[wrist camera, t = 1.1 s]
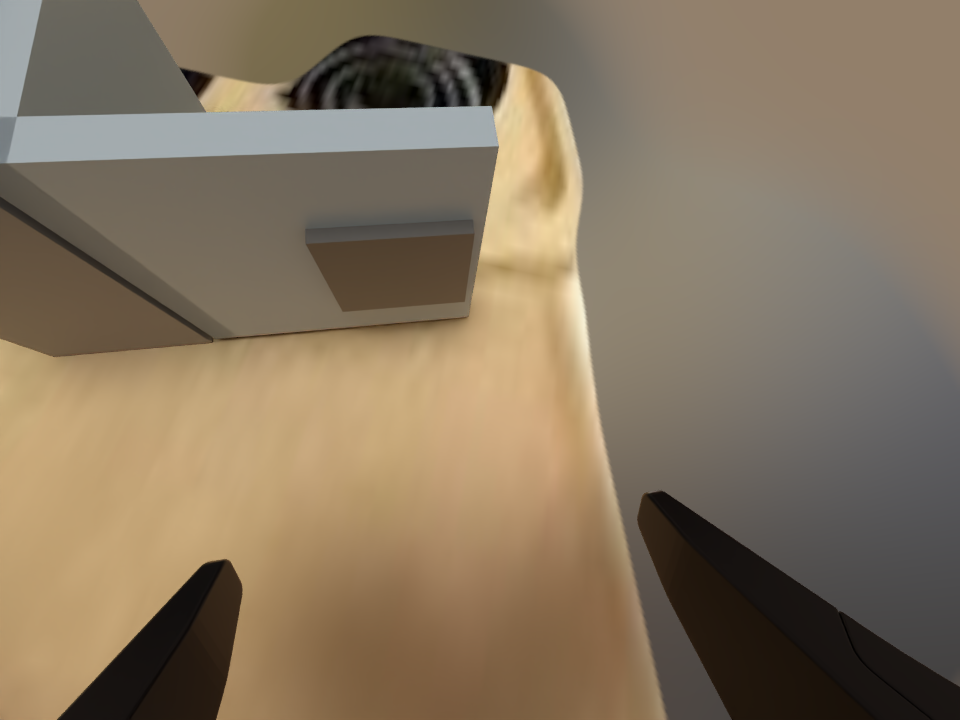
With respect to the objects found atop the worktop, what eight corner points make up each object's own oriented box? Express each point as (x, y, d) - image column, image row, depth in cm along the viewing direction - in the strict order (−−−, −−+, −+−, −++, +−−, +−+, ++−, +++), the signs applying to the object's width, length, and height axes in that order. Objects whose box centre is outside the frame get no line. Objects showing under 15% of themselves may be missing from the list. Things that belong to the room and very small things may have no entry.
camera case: (214, 342, 23) (-128, 122, 9) (53, 356, 22) (-609, 133, 8) (223, 137, 27) (-8, -238, 13) (87, 141, 26) (-322, -261, 12)
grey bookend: (469, 326, 25) (501, 162, 12) (214, 349, 23) (-53, 185, 10) (447, 163, 28) (455, -98, 15) (222, 172, 26) (25, -115, 14)
